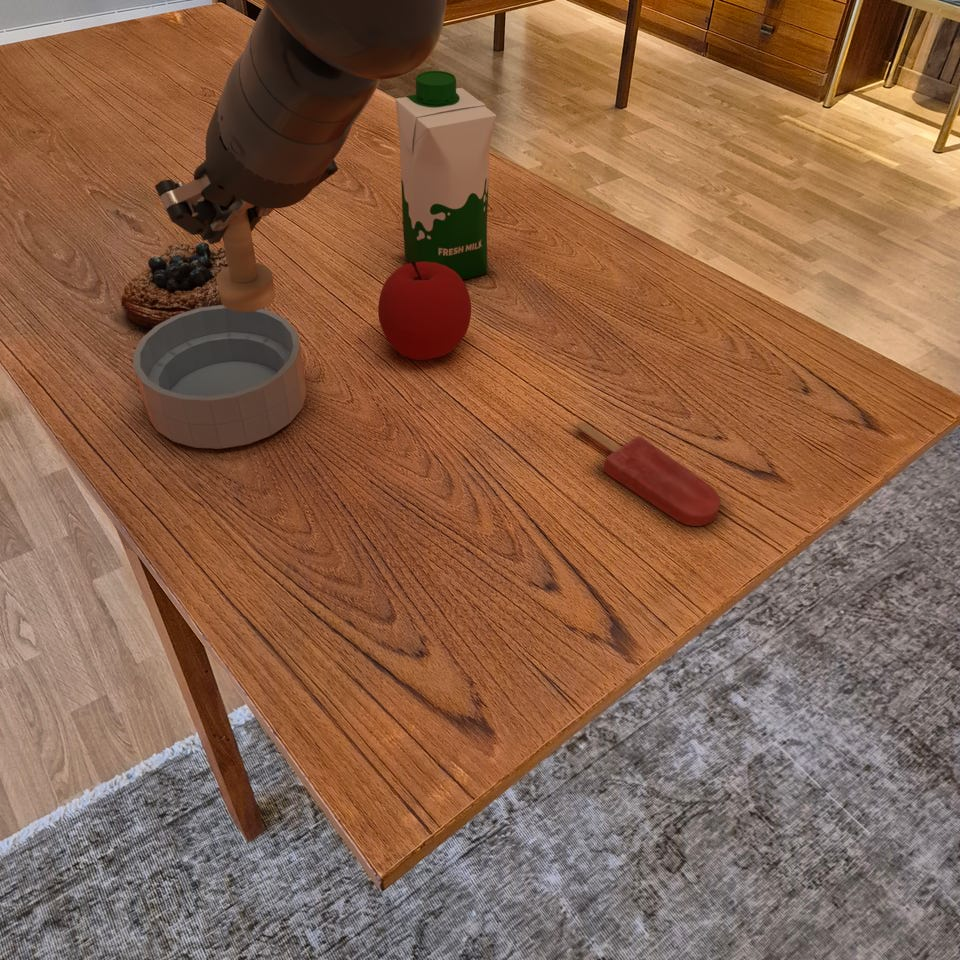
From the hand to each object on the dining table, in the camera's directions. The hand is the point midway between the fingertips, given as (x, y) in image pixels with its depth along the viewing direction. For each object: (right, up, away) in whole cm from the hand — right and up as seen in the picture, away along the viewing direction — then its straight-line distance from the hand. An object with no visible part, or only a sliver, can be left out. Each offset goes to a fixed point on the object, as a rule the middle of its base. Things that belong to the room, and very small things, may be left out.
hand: (224, 226), depth 70 cm
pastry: (-10, -2, +24) cm, 26 cm away
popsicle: (+34, -20, +7) cm, 40 cm away
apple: (+15, -7, +20) cm, 25 cm away
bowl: (-3, -13, +12) cm, 18 cm away
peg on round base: (+1, -5, +3) cm, 6 cm away
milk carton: (+16, +4, +31) cm, 35 cm away
